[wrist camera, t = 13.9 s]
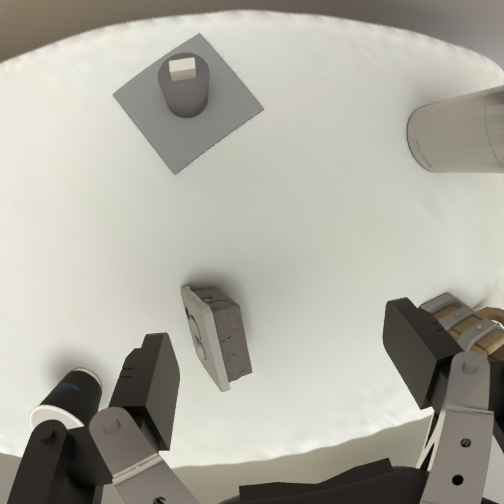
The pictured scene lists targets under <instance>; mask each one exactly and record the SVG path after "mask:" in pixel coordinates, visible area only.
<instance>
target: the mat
mask: <svg viewBox="0 0 504 504" xmlns="http://www.w3.org/2000/svg"><path fill="white" fill-rule="evenodd" d="M178 53H193V54H196V55H198V56H200V57H201V58H203V59H204V60H205V62H206V63H207V65H208V67H209V71H210V76H209V90H208V102H207V105H206V107H205V109H204V110H203V111H202V112H201V113H200V114H199V115H197V116H195V117H192V118H181V117H178V116H176V115H174V114H173V113H172V112H171V111H170V109H169V107H168V105H167V102H166V100H165V97H164V95H163V93H162V90H161V88H160V85H159V82H158V72H159V69H160V67H161V65H162V64H163V63H164V61H166V60H167V59H168V58H169V57H171V56H173V55H175V54H178ZM112 95H113V96H114V97H115V98H116V100H117V101H118V102H119V104H120V105H121V106H122V108H123V109H124V110H125V111H126V113H127V114H128V115H129V117H130V118H131V119H132V121H133V122H134V123H135V124H136V126H137V127H138V128H139V130H140V131H141V132H142V133H143V135H144V136H145V137H146V139H147V140H148V141H149V142H150V144H151V145H152V146H153V148H154V149H155V150H156V151H157V153H158V154H159V155H160V157H161V158H162V159H163V160H164V162H165V163H166V164H167V166H168V167H169V168H170V169H171V171H172V172H173V173H174V175H176V174H177V173H178V172H179V171H181V170H182V169H183V168H184V167H186V166H187V165H188V164H190V163H191V162H192V161H193V160H195V159H196V158H197V157H199V156H200V155H201V154H203V153H204V152H205V151H207V150H208V149H209V148H211V147H212V146H213V145H215V144H216V143H217V142H219V141H220V140H221V139H223V138H224V137H225V136H227V135H228V134H230V133H231V132H232V131H234V130H235V129H237V128H238V127H239V126H241V125H242V124H244V123H245V122H247V121H248V120H249V119H251V118H252V117H254V116H255V115H257V114H258V113H260V112H261V111H263V110H264V108H263V107H262V106H261V104H260V103H259V102H258V101H257V99H256V98H255V97H254V96H253V94H252V93H251V92H250V91H249V89H248V88H247V87H246V86H245V85H244V83H243V82H242V81H241V80H240V79H239V77H238V76H237V75H236V74H235V73H234V71H233V70H232V69H231V68H230V67H229V66H228V64H227V63H226V62H225V61H224V60H223V59H222V57H221V56H220V55H219V54H218V53H217V52H216V51H215V49H214V48H213V47H212V46H211V45H210V44H209V43H208V42H207V40H206V39H205V38H204V37H203V36H202V35H201V34H200V33H199V34H197V35H196V36H194V37H193V38H191V39H189V40H188V41H186V42H184V43H183V44H181V45H180V46H178V47H177V48H175V49H174V50H172V51H171V52H169V53H168V54H166V55H165V56H163V57H162V58H160V59H159V60H157V61H156V62H154V63H153V64H152V65H150V66H149V67H147V68H146V69H145V70H143V71H142V72H141V73H139V74H138V75H137V76H135V77H134V78H133V79H131V80H130V81H129V82H127V83H126V84H125V85H124V86H122V87H121V88H120V89H118V90H117V91H116V92H115V93H114V94H112Z"/></svg>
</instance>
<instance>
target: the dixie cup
mask: <svg viewBox="0 0 504 504" xmlns="http://www.w3.org/2000/svg"><path fill="white" fill-rule="evenodd" d="M101 395H102V390H101V383H100V380H99V379H98V377H97V376H96V375H95V374H94V373H92V372H91V371H89V370H87V369H83V368H77V369H75V370H73V371H71V372H69V373H68V374H67V375H66V376H65V377H64V378H63V379H62V380H61V382H60V383H59V384H58V385H57V386H56V387H55V388H54V389H53V390H52V391H51V393H50V394H49V395H48V396H47V397H46V398H45V399H44V400H43V401H42V402H41V404H40V405H39V406H36V407H35V408H33V409H32V410H31V412H30V415H29V423H30V426H31V429H32V431H33V430H34V428H35V427H36V426H37V425H38V424H40V423H41V422H43V421H46V420H50V419H55V420H59V421H61V422H62V423H63V424H64V425H65V427H66V428H67V429H72V428H77V427H82V426H86V425H89V424H90V421H91V419H92V418H93V417H94V415H95V414H97V412H98V408H99V403H100V399H101Z"/></svg>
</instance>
